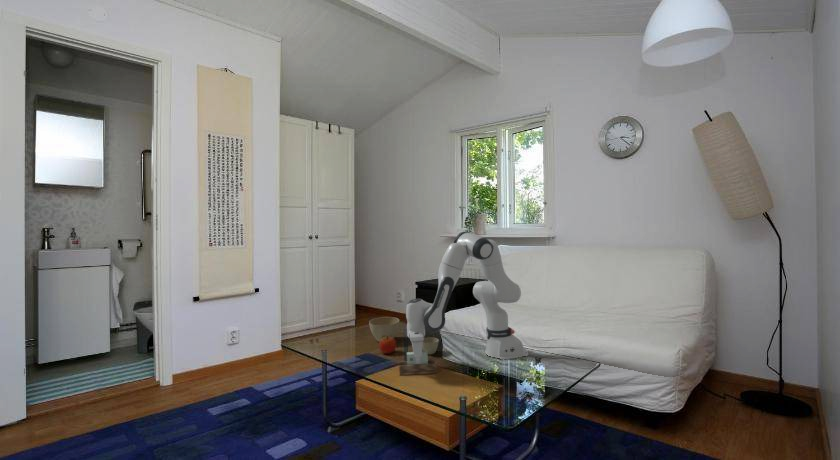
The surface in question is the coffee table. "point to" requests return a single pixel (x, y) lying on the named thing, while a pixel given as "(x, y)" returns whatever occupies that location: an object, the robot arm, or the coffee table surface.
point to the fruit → (387, 344)
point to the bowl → (430, 345)
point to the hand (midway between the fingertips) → (417, 359)
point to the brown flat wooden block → (417, 368)
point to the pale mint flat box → (412, 360)
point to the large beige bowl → (384, 327)
